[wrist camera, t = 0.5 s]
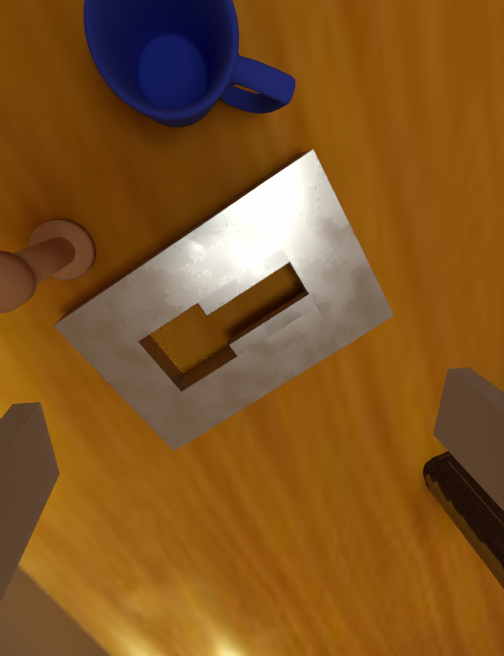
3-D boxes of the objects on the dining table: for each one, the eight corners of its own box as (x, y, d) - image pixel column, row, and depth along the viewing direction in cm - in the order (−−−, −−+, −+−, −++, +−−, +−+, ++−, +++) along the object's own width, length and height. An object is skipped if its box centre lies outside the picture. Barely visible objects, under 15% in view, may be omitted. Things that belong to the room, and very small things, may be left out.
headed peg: (22, 240, 32) (-77, 273, 20) (68, 207, 31) (-7, 222, 20) (63, 286, 34) (-5, 340, 22) (107, 256, 33) (60, 295, 22)
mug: (254, 166, 32) (277, 160, 23) (111, 117, 29) (72, 88, 20) (284, 60, 29) (323, 5, 20) (131, -5, 27) (95, -103, 18)
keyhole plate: (175, 430, 41) (174, 451, 38) (66, 312, 35) (53, 325, 31) (378, 304, 39) (394, 315, 36) (301, 152, 32) (313, 149, 29)
